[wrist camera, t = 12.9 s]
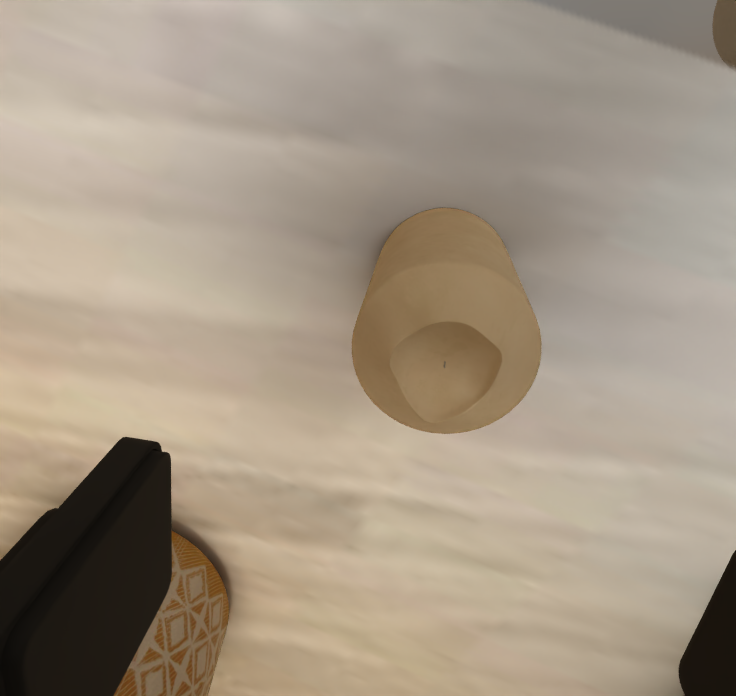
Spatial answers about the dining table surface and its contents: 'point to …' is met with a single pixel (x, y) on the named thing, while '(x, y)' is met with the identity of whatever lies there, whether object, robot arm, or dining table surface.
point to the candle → (445, 326)
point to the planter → (182, 631)
